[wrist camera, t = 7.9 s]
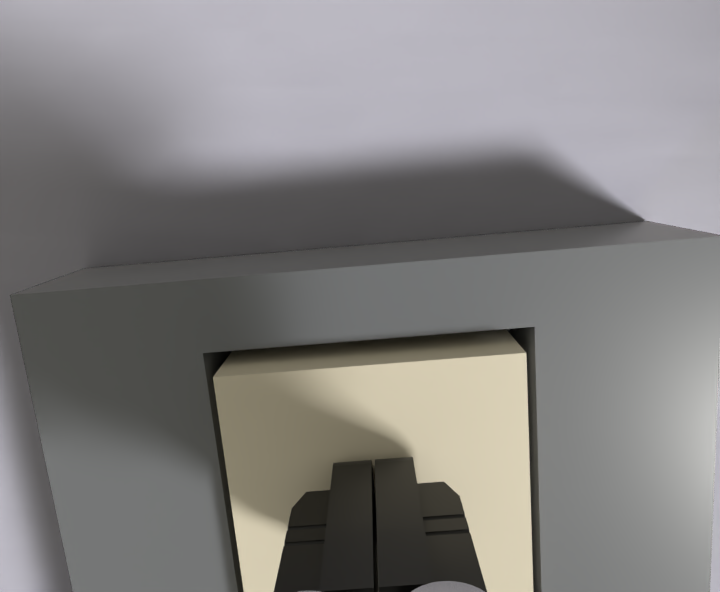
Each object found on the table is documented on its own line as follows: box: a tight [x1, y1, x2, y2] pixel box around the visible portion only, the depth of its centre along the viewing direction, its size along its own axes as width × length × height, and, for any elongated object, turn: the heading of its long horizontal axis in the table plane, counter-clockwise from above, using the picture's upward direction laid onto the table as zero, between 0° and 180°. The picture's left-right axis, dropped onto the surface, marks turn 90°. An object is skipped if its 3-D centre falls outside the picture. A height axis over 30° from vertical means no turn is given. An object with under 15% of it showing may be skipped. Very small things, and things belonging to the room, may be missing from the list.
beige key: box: [213, 329, 533, 592], centre depth 12 cm, size 6×6×2 cm
